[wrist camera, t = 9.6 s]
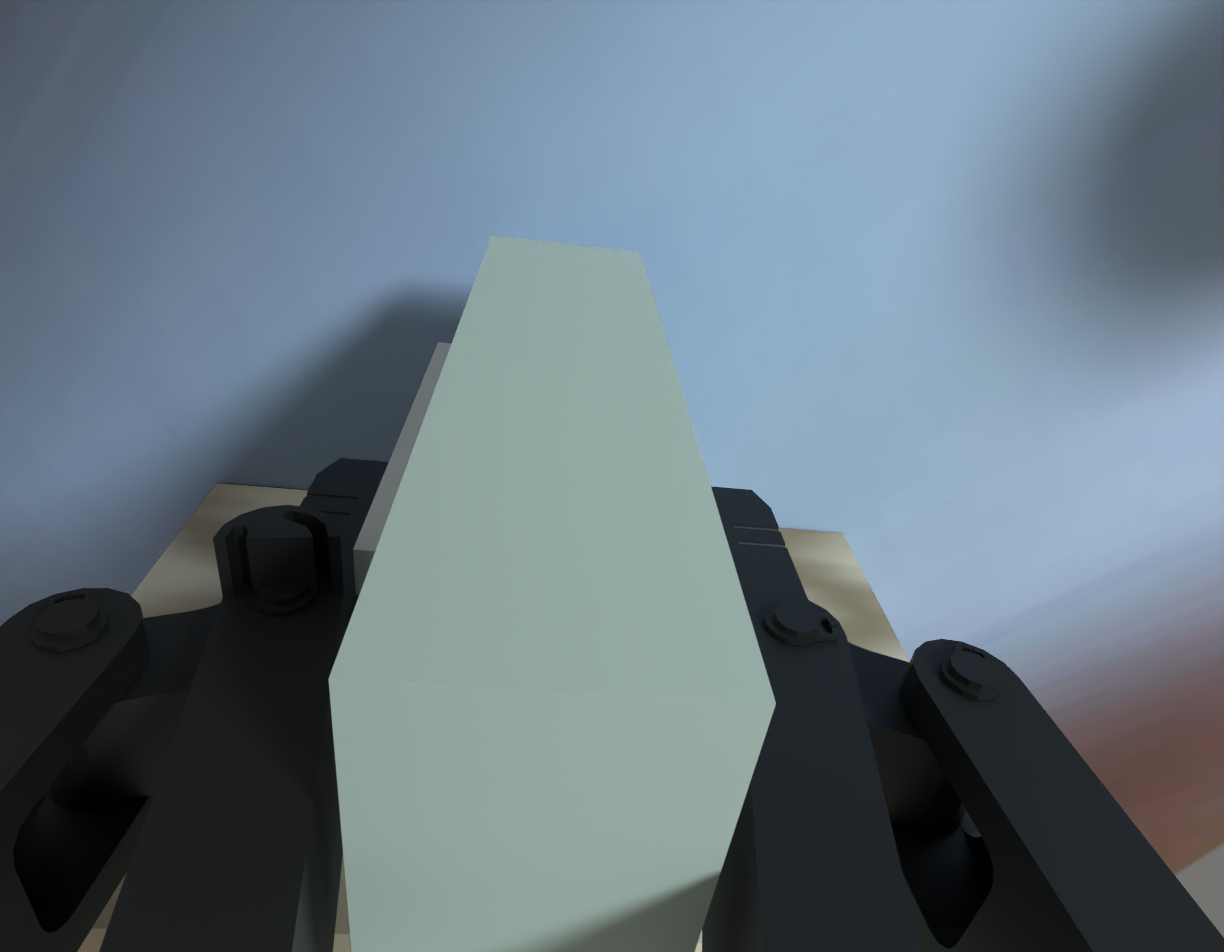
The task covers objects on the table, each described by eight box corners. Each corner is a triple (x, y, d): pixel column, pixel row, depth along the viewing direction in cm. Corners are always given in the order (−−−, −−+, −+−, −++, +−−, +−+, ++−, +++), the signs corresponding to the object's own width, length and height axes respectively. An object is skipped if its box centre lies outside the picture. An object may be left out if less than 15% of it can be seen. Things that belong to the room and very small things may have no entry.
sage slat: (491, 234, 15) (328, 679, 5) (640, 251, 16) (775, 703, 5) (463, 848, 25) (391, 1416, 15) (554, 851, 26) (544, 1409, 15)
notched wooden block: (230, 569, 23) (-54, 1026, 12) (216, 482, 21) (-120, 923, 11) (816, 609, 25) (992, 1038, 14) (842, 533, 23) (1059, 950, 13)
